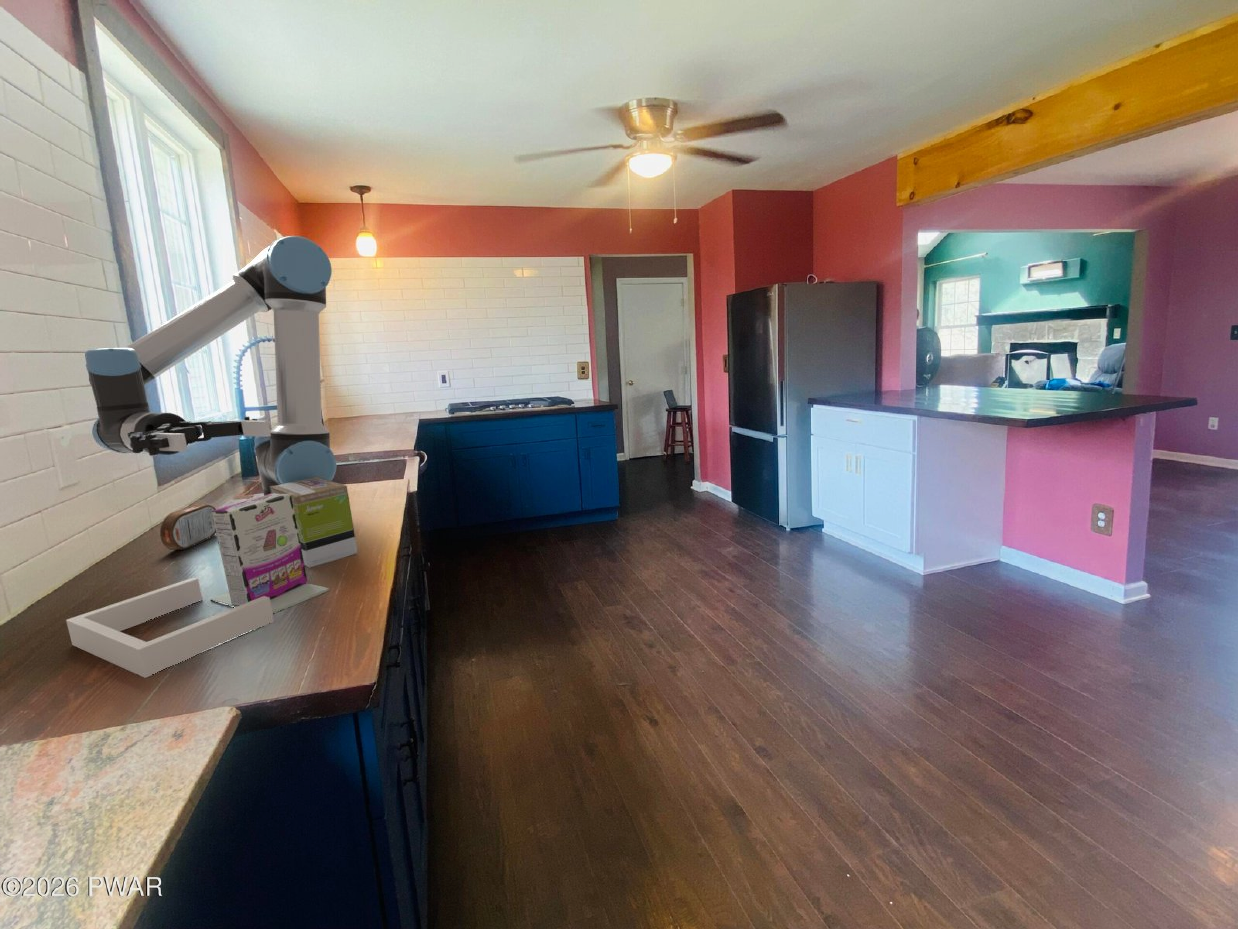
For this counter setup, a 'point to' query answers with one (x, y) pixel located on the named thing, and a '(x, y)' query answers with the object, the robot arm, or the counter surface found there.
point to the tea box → (321, 519)
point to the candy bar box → (260, 547)
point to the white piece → (147, 658)
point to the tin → (187, 527)
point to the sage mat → (284, 596)
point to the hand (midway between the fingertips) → (228, 435)
